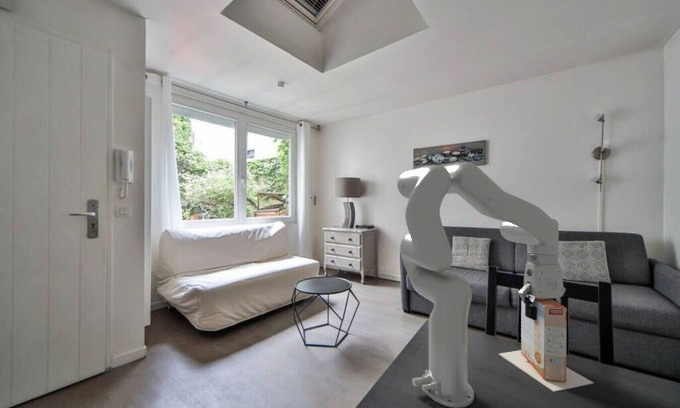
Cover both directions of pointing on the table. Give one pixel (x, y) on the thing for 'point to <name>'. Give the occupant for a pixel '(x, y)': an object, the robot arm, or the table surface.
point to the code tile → (522, 363)
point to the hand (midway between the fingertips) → (542, 316)
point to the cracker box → (545, 339)
